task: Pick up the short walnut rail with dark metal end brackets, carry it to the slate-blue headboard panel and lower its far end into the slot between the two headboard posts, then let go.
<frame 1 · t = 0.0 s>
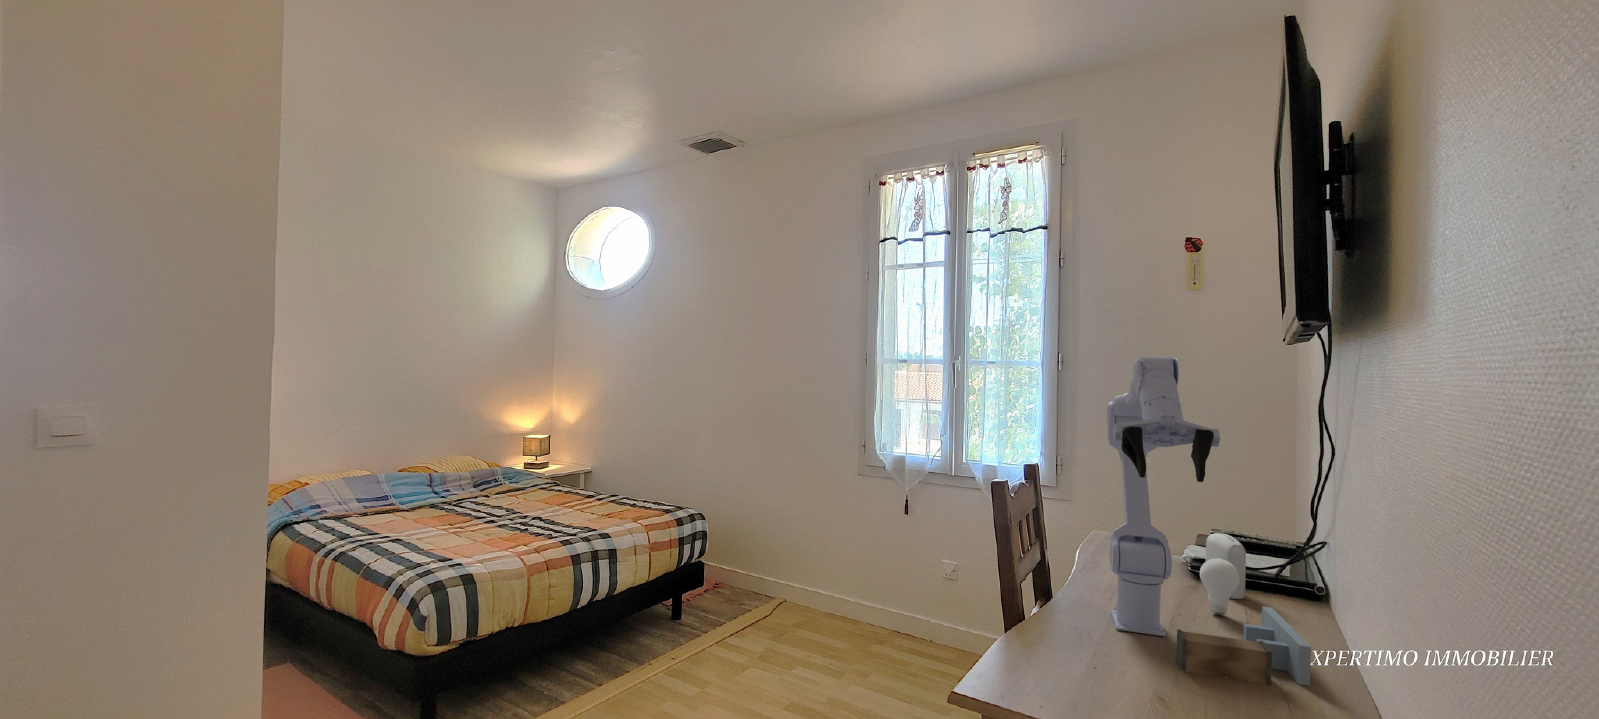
hand: (1171, 475, 100), 32 cm above the table, tool tilted 50°, fingers open, 7 cm apart
white rounded slab: (1224, 592, 148), on the table
light bulb: (1218, 616, 134), on the table
rail: (1221, 672, 108), on the table
headboard: (1269, 658, 114), on the table
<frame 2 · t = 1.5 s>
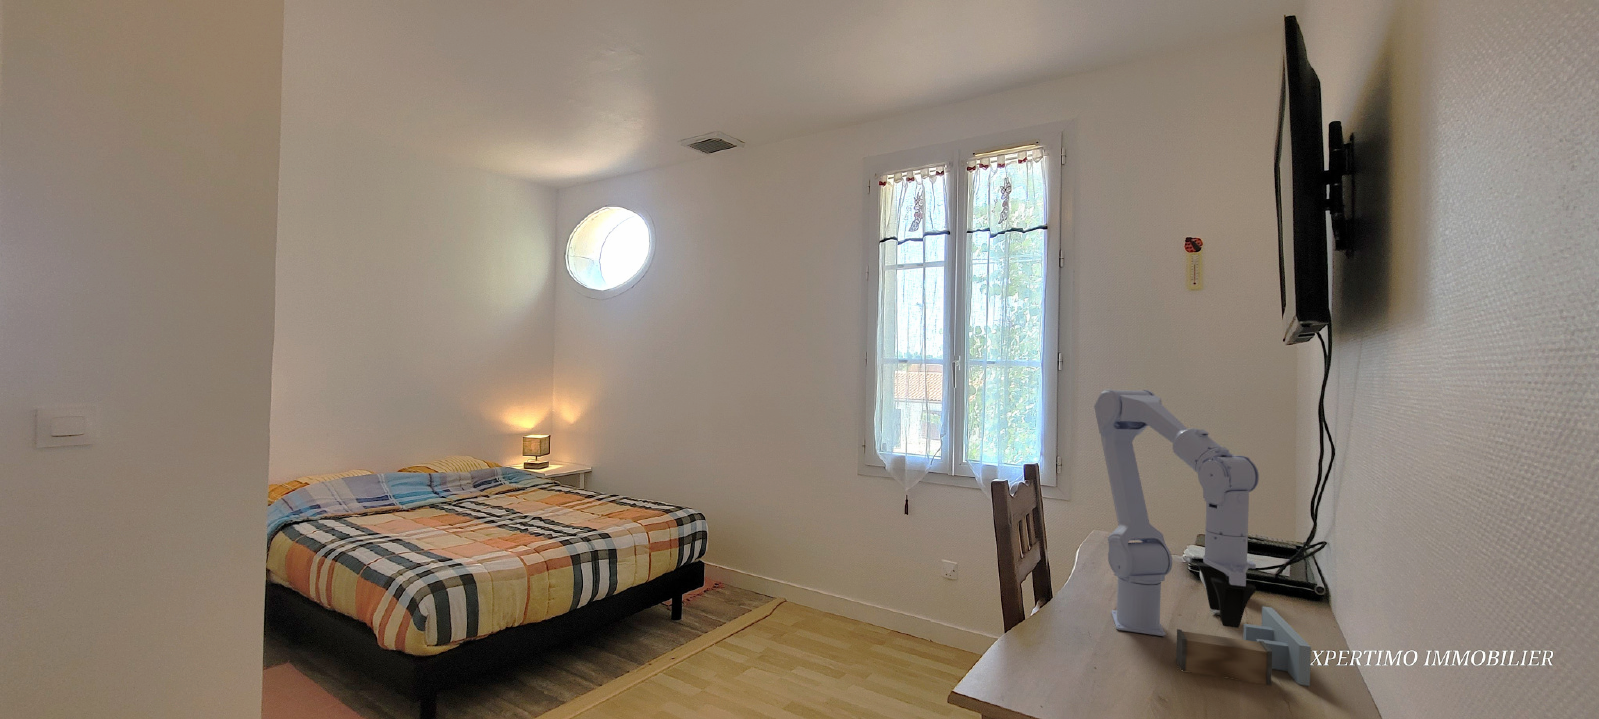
hand: (1223, 617, 108), 9 cm above the table, tool pointing down, fingers open, 7 cm apart
nothing on the table moved.
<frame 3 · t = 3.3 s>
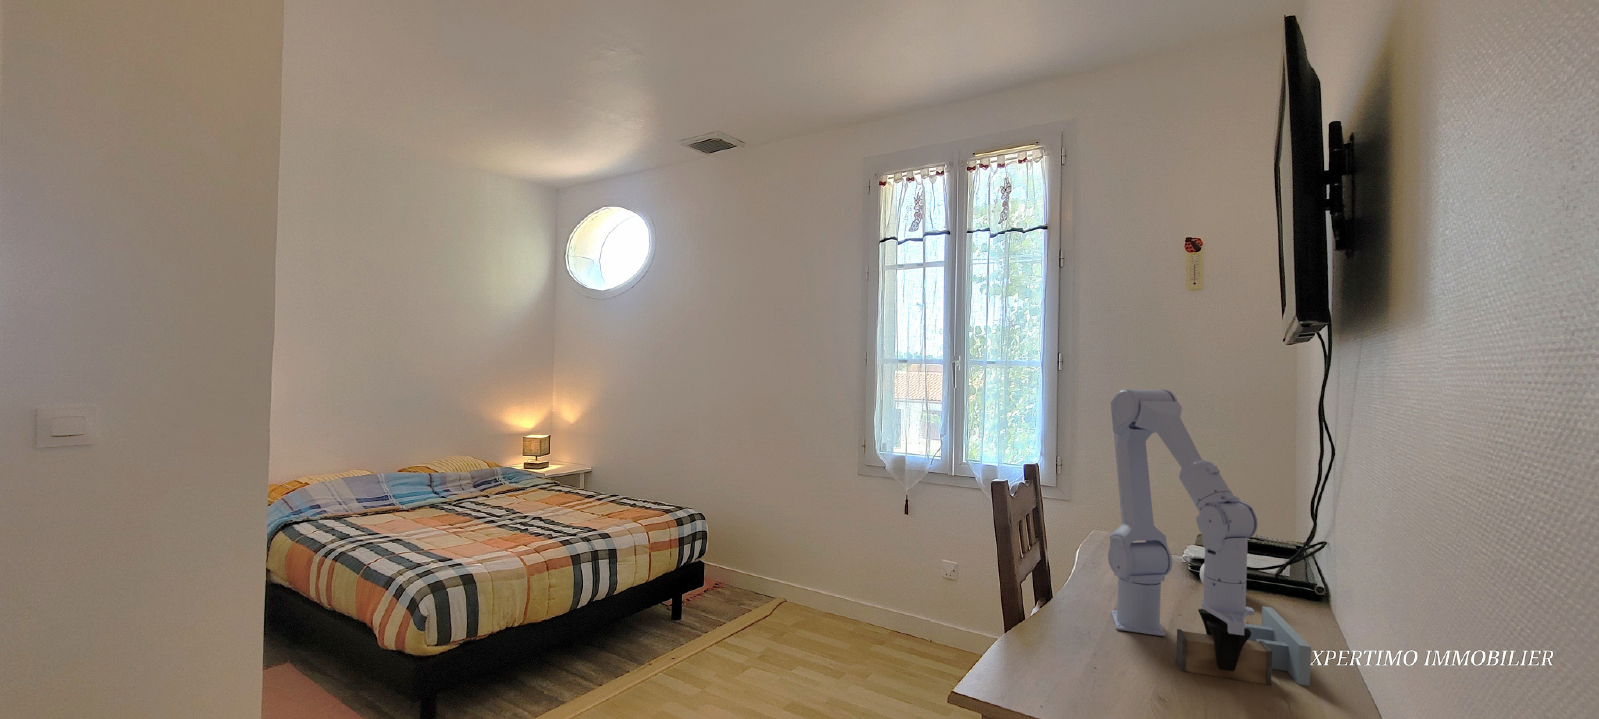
hand: (1222, 663, 108), 1 cm above the table, tool pointing down, fingers closed on rail, 4 cm apart
rail: (1221, 672, 108), on the table, touching gripper
everything else where it was.
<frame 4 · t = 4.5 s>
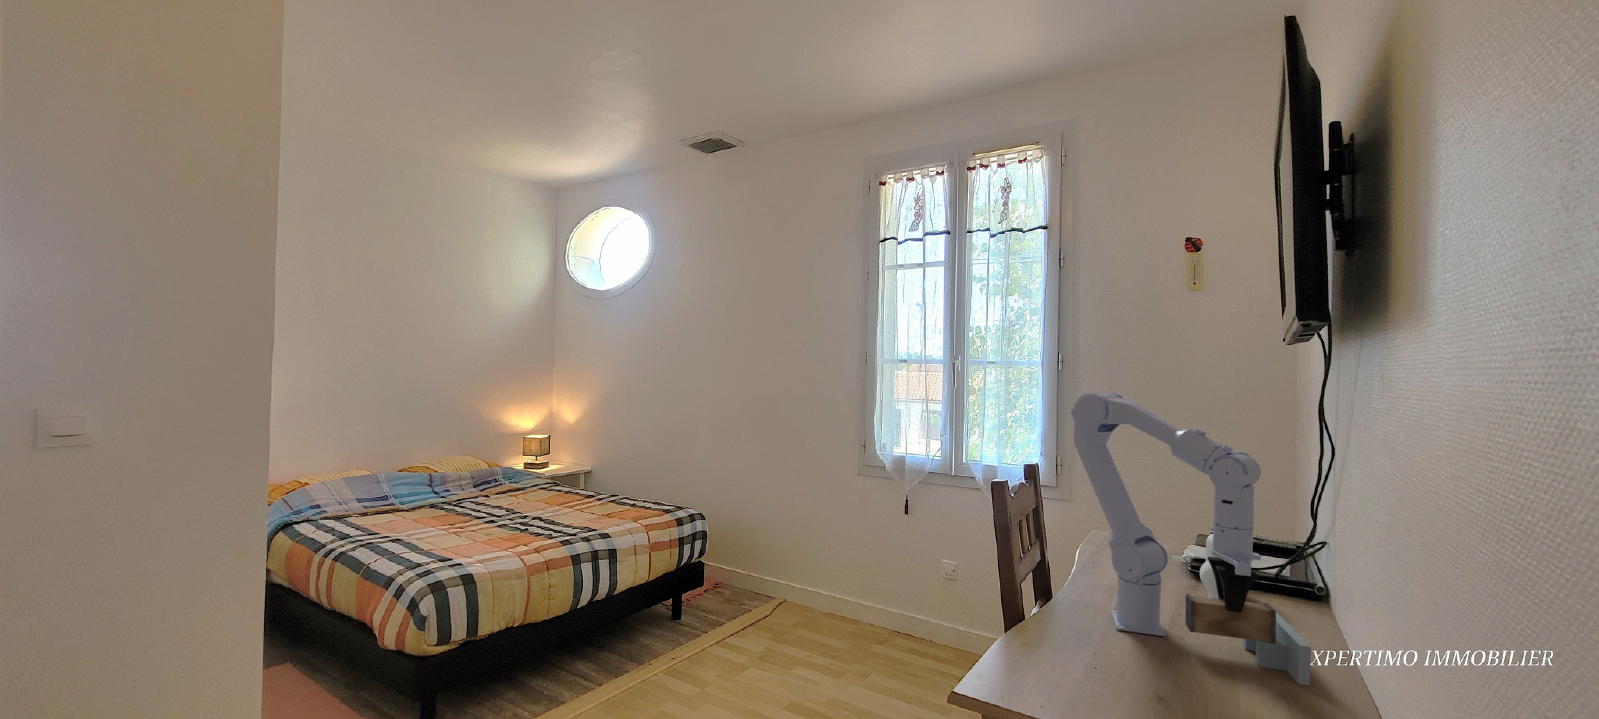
hand: (1230, 606, 115), 8 cm above the table, tool pointing down, fingers closed on rail, 4 cm apart
rail: (1229, 633, 114), point 4 cm above the table, touching gripper
everything else where it was.
when the fingers open (7 cm above the table, at t = 5.1 s): rail drops 3 cm, on the table.
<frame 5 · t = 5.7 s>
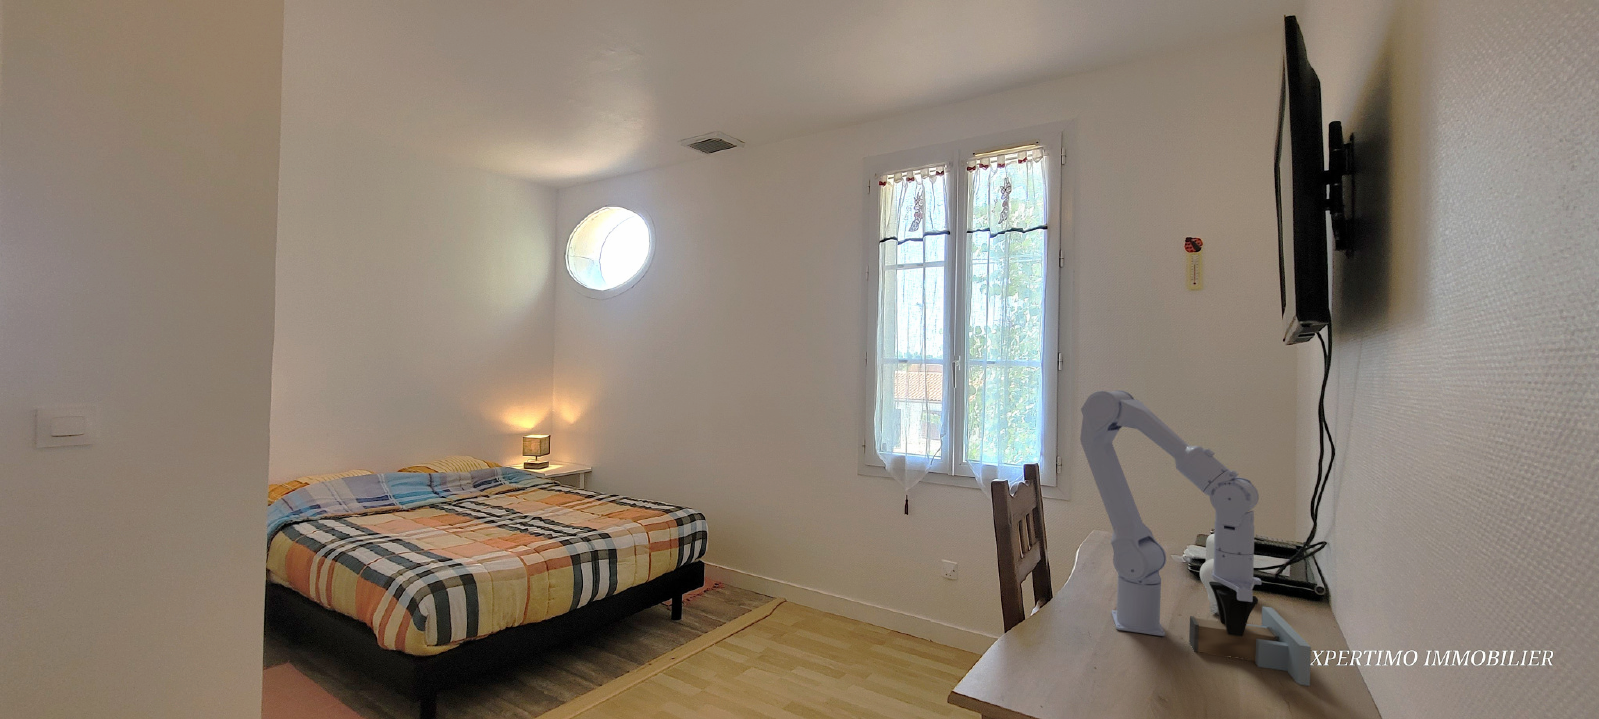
hand: (1231, 630, 116), 4 cm above the table, tool pointing down, fingers open, 3 cm apart
rail: (1232, 656, 116), on the table, touching gripper
everything else where it was.
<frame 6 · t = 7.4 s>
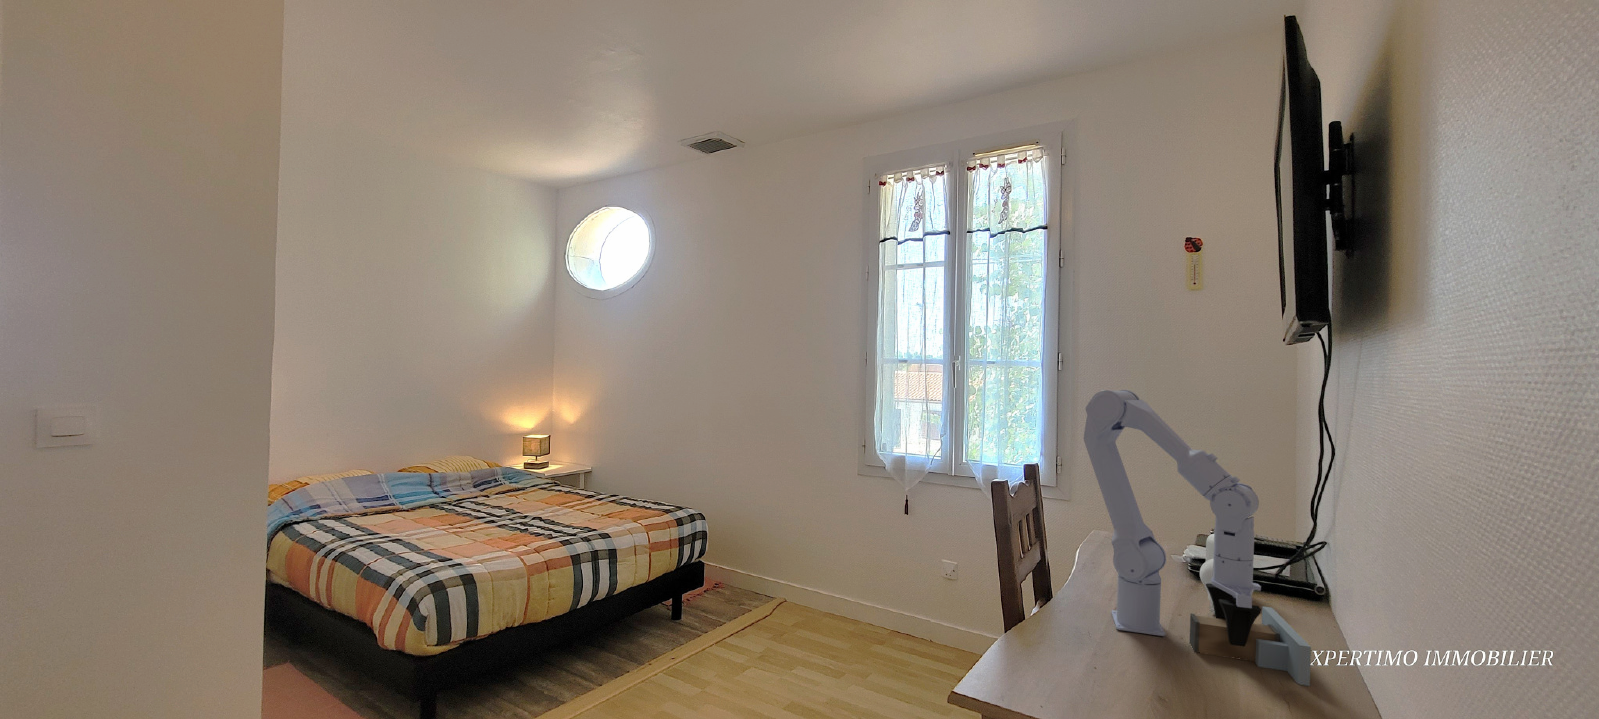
hand: (1230, 636, 116), 3 cm above the table, tool pointing down, fingers open, 7 cm apart
rail: (1232, 653, 116), on the table
everything else where it was.
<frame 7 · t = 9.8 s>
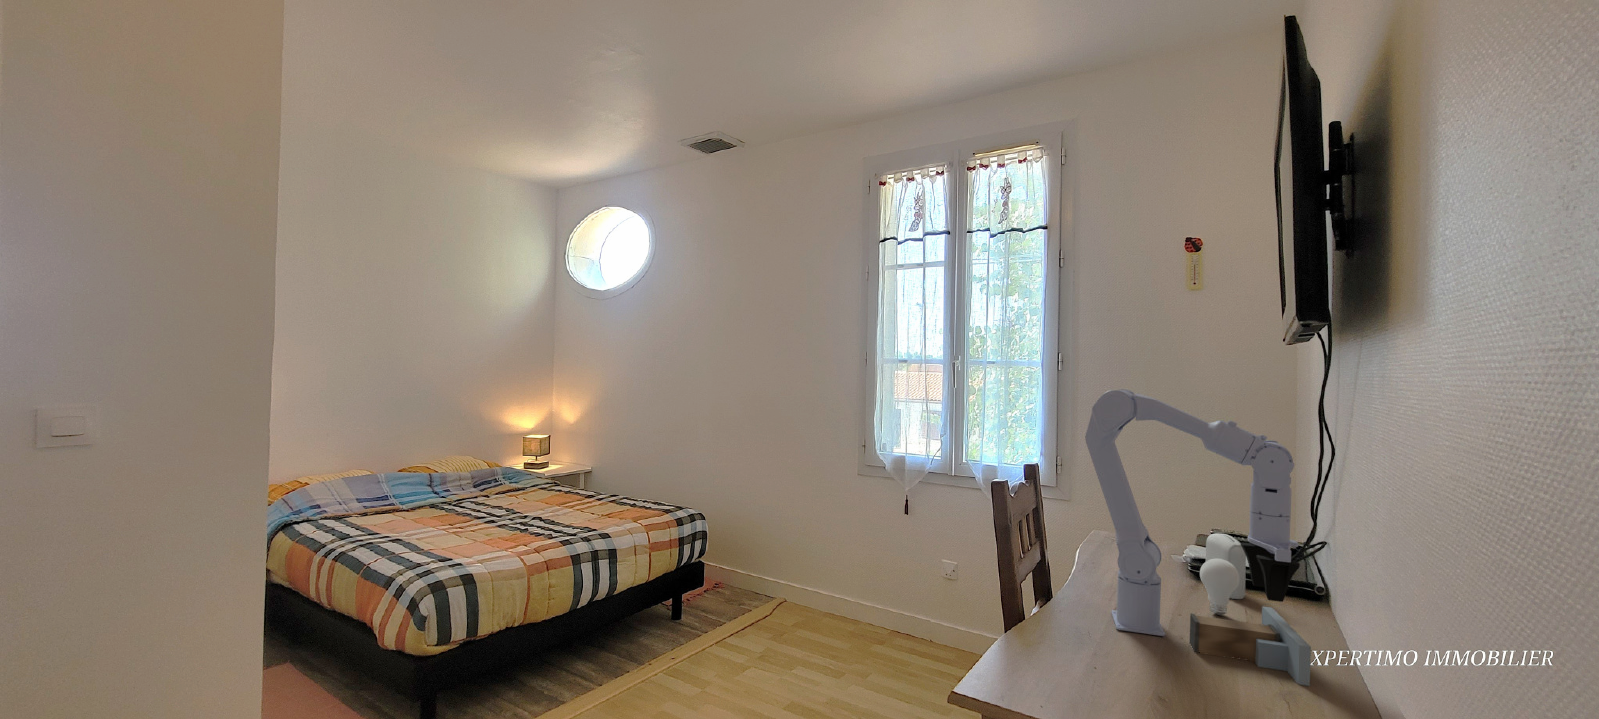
hand: (1267, 593, 116), 10 cm above the table, tool pointing down, fingers open, 7 cm apart
nothing on the table moved.
at the end: rail 0.7 cm from the target spot on the table beside the headboard, on the table; rail tilted 0°; rail touching table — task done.
